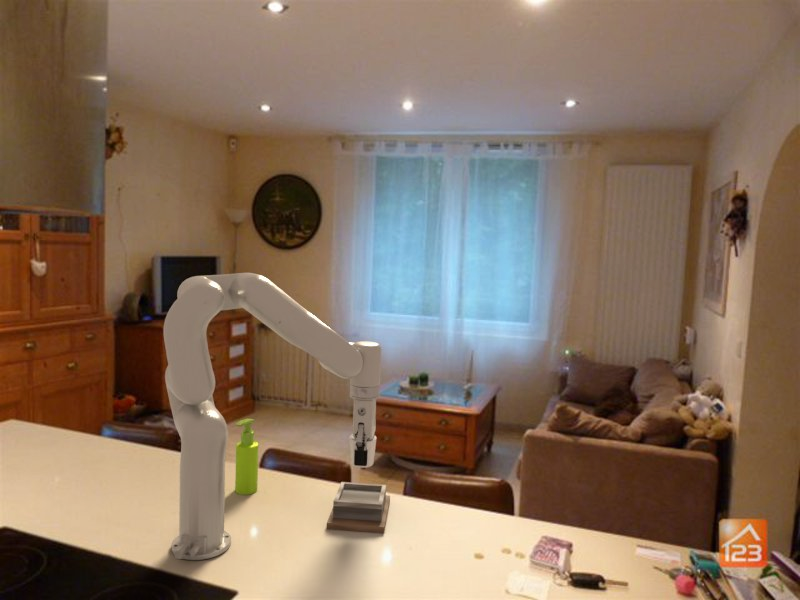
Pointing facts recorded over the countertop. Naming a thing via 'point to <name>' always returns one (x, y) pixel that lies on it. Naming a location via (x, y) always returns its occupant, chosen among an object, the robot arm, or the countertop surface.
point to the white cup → (370, 448)
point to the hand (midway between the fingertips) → (362, 459)
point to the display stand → (359, 508)
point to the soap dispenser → (246, 460)
